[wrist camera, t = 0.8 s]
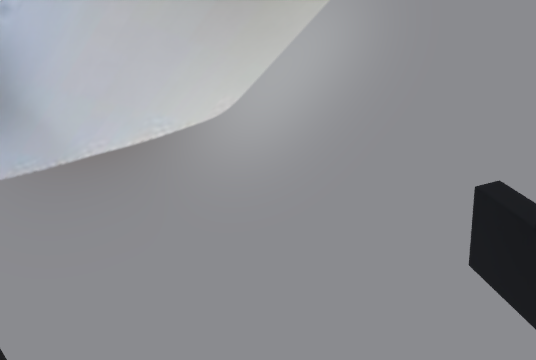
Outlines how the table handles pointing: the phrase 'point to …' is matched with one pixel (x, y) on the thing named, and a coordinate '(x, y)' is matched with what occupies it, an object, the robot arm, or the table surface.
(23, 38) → the table surface
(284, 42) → the table surface
